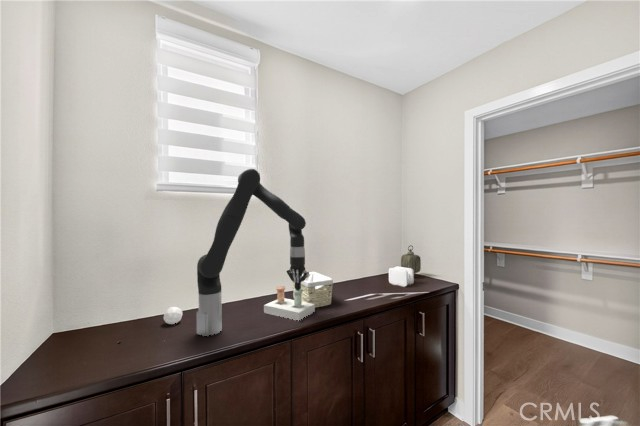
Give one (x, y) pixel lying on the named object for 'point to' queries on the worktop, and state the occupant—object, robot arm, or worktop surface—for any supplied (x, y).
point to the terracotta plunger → (280, 293)
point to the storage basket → (316, 289)
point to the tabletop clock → (411, 261)
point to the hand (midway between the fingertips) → (297, 289)
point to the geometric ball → (173, 315)
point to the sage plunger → (297, 297)
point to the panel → (289, 309)
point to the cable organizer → (401, 276)
